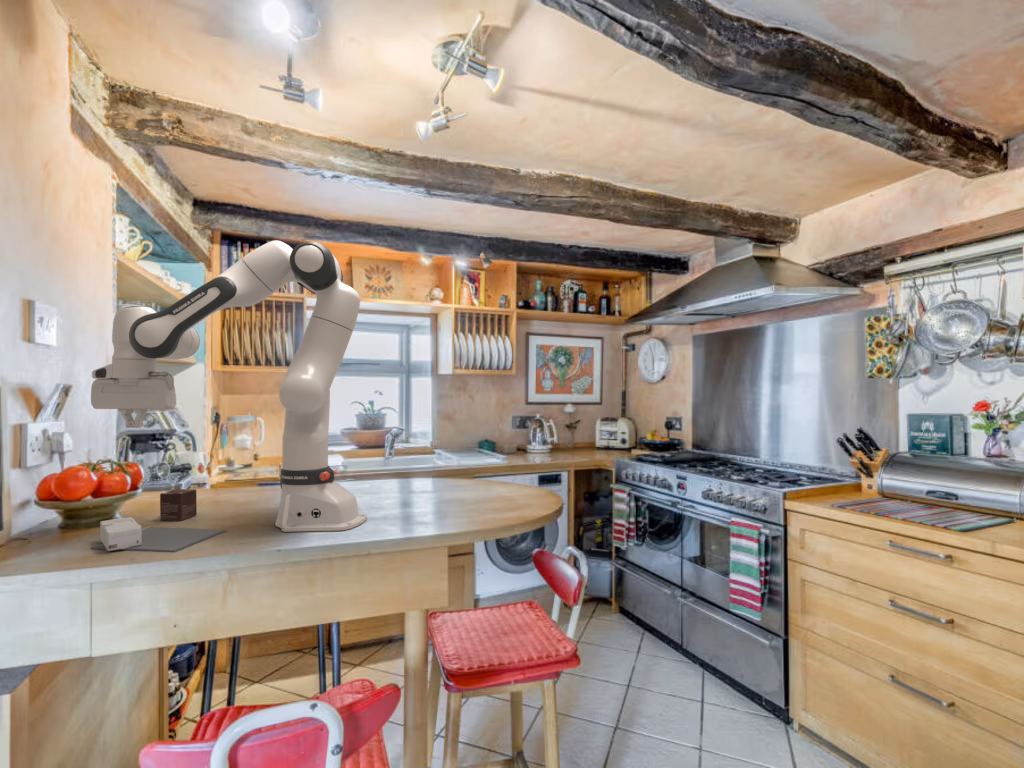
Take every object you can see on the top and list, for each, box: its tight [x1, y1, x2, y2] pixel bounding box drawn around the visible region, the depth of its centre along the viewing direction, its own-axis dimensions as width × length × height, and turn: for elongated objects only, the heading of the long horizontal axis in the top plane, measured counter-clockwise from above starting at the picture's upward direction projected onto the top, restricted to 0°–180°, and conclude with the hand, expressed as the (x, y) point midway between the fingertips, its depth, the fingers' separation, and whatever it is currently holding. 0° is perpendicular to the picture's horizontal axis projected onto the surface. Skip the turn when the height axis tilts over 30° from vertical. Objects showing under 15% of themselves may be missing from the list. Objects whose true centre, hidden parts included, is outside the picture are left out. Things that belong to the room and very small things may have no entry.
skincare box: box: [99, 516, 143, 552], centre depth 113 cm, size 6×4×12 cm
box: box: [159, 488, 198, 522], centre depth 136 cm, size 6×6×7 cm
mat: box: [90, 526, 227, 553], centre depth 117 cm, size 20×16×1 cm
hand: (133, 427), depth 126 cm, fingers closed
